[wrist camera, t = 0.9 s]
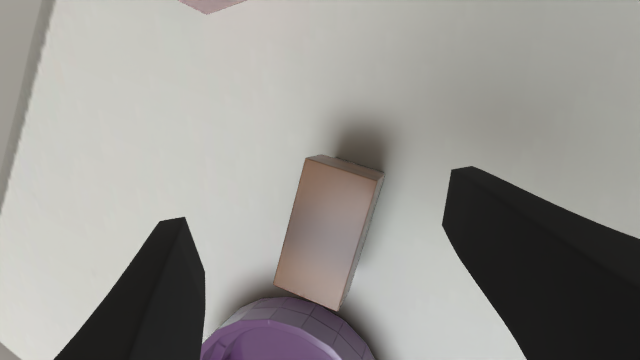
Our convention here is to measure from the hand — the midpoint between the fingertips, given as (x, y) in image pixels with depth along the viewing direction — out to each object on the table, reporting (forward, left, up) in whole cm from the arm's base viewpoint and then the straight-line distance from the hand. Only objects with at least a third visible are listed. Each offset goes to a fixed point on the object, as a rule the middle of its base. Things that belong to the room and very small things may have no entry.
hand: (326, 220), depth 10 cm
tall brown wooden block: (-2, +5, -15) cm, 16 cm away
